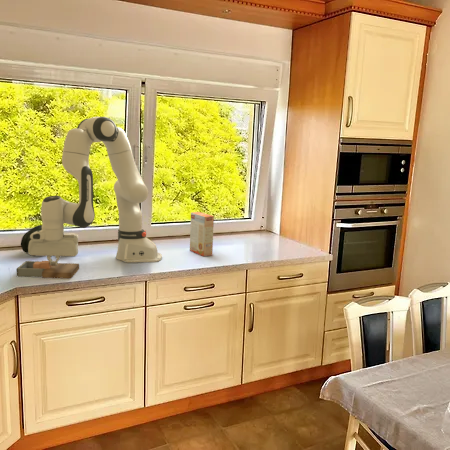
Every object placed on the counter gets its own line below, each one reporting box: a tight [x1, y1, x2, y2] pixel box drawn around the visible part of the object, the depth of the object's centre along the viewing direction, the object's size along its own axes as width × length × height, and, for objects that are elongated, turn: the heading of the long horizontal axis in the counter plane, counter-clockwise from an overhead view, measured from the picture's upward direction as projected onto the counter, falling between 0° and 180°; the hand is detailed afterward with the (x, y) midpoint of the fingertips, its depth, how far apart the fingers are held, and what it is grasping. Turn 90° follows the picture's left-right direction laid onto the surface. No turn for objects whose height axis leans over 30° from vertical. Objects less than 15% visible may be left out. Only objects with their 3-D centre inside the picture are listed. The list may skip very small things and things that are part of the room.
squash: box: [20, 224, 42, 257], centre depth 237 cm, size 14×15×15 cm
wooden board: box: [41, 262, 80, 279], centre depth 209 cm, size 12×14×2 cm
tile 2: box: [39, 260, 52, 269], centre depth 208 cm, size 4×4×2 cm
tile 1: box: [33, 262, 40, 269], centre depth 208 cm, size 4×4×2 cm
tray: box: [16, 260, 45, 278], centre depth 208 cm, size 11×12×4 cm
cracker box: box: [189, 211, 215, 257], centre depth 250 cm, size 14×6×21 cm, turn 34°
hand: (53, 265), depth 208 cm, fingers closed
